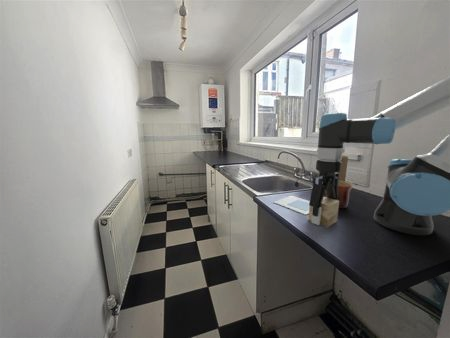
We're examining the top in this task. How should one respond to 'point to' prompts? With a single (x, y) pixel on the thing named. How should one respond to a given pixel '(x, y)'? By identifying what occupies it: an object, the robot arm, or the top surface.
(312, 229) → the top surface
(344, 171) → the wooden block
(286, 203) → the board
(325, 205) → the oak block
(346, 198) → the mug
